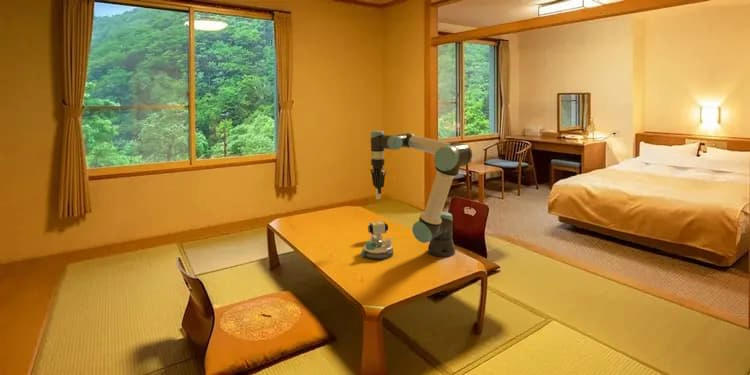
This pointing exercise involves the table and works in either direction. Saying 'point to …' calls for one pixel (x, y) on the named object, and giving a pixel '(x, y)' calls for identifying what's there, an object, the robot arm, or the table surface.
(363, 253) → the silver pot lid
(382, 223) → the pneumatic valve
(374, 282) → the table surface
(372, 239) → the lathe chuck
